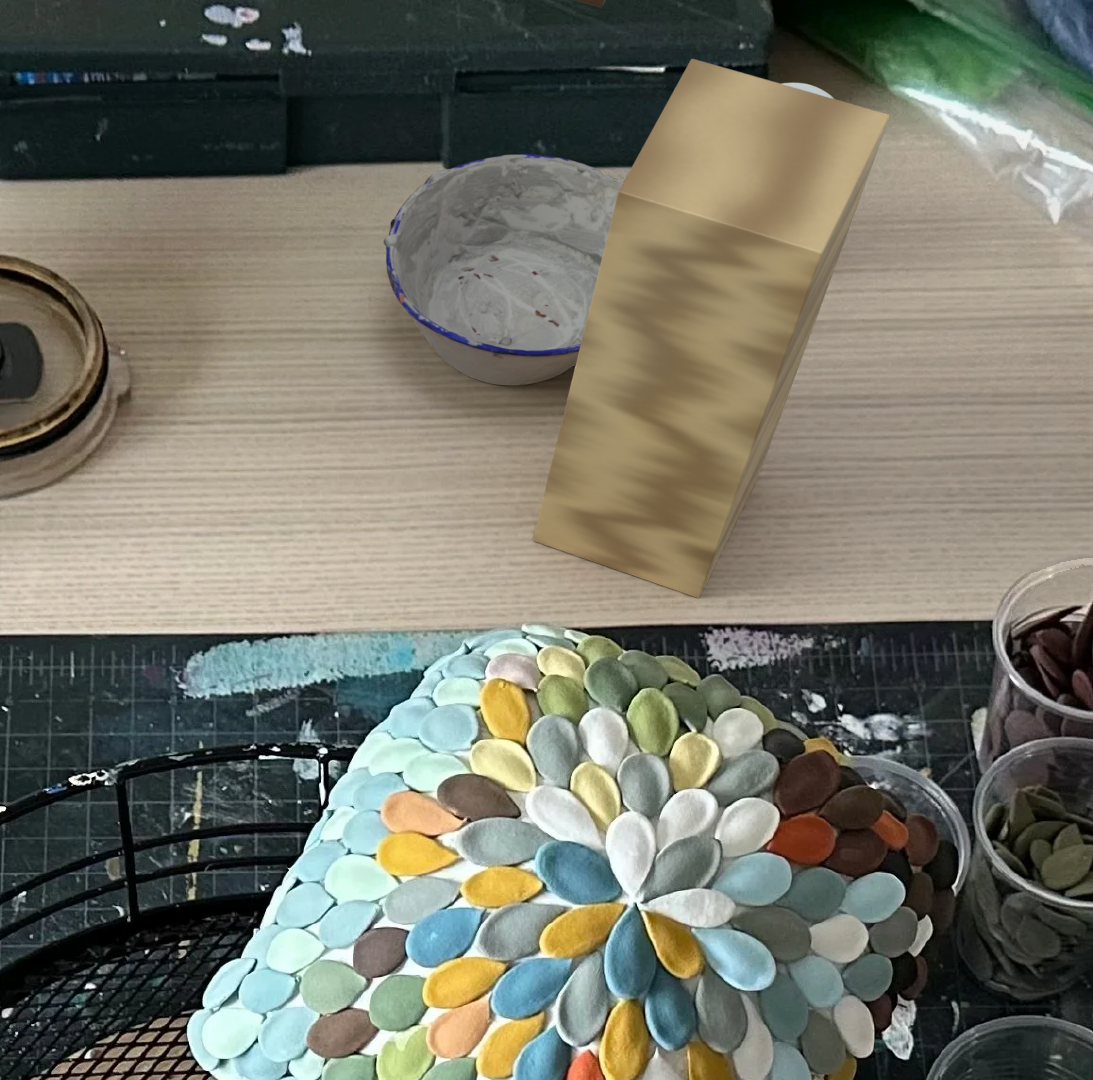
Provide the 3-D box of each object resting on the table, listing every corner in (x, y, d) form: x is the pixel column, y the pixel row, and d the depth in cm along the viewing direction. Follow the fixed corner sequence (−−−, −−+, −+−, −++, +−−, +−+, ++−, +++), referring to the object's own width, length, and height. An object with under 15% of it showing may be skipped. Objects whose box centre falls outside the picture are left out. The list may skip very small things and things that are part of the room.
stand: (759, 474, 106) (891, 114, 88) (699, 599, 103) (822, 253, 85) (595, 420, 108) (691, 57, 90) (532, 541, 105) (618, 191, 87)
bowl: (407, 444, 108) (419, 368, 104) (350, 250, 114) (360, 171, 110) (677, 403, 108) (700, 326, 104) (607, 211, 114) (626, 130, 110)
